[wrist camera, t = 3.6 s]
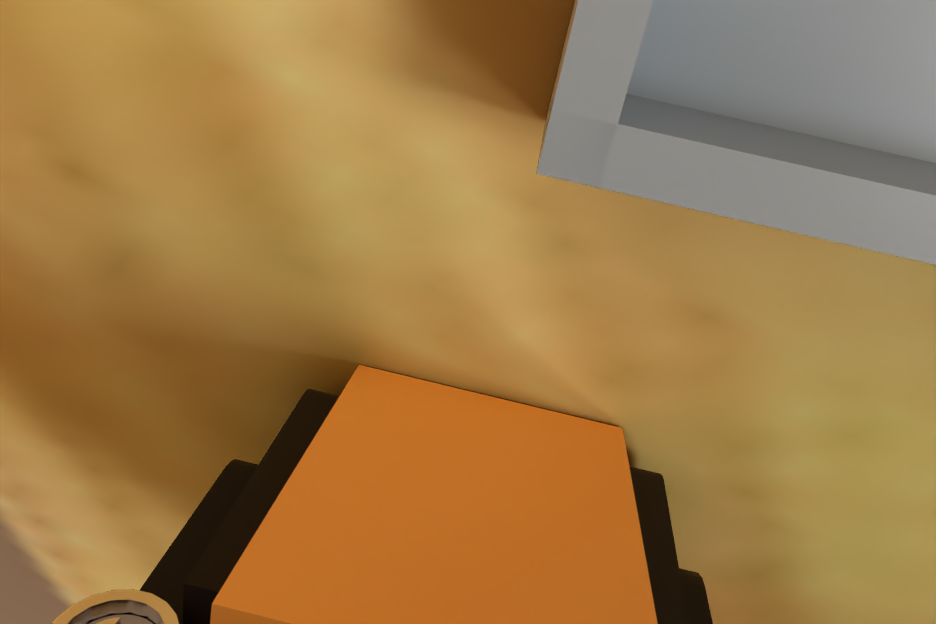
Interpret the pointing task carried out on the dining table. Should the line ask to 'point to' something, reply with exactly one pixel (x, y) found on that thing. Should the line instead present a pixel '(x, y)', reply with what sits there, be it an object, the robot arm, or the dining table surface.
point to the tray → (757, 113)
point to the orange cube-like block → (447, 518)
